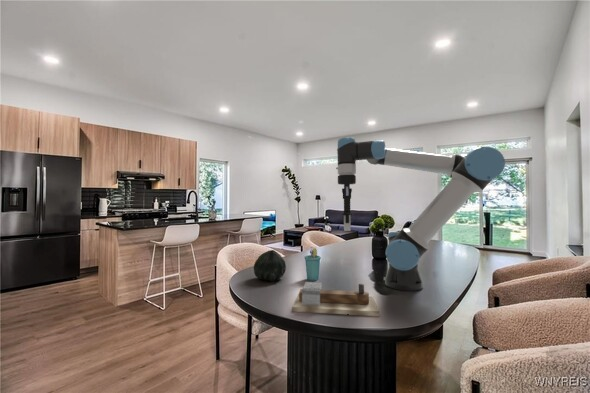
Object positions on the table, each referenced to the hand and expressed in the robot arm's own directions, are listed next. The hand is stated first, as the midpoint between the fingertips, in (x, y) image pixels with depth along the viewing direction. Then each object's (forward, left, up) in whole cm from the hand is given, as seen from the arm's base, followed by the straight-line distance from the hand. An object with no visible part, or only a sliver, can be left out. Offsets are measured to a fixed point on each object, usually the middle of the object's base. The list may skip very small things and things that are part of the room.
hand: (347, 230), depth 117 cm
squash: (+36, -10, -25) cm, 45 cm away
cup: (+16, -12, -25) cm, 32 cm away
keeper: (+13, +20, -23) cm, 33 cm away
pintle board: (+5, +20, -24) cm, 32 cm away
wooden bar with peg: (+5, +20, -23) cm, 31 cm away
